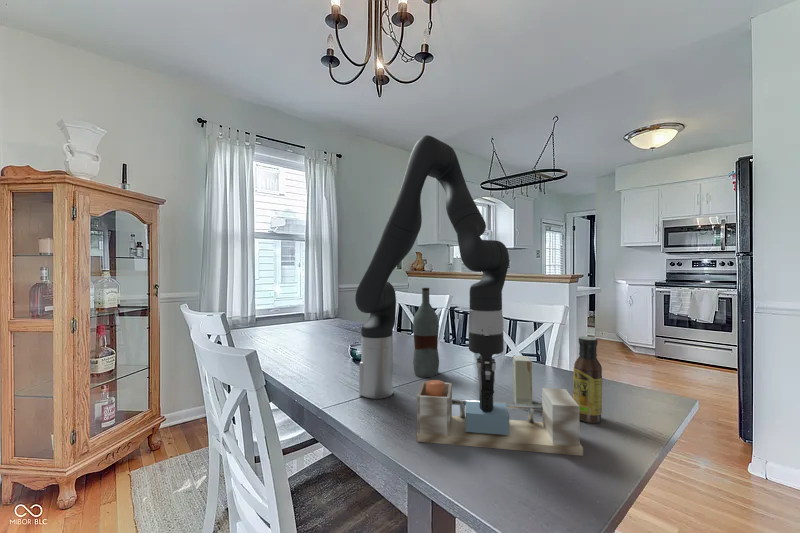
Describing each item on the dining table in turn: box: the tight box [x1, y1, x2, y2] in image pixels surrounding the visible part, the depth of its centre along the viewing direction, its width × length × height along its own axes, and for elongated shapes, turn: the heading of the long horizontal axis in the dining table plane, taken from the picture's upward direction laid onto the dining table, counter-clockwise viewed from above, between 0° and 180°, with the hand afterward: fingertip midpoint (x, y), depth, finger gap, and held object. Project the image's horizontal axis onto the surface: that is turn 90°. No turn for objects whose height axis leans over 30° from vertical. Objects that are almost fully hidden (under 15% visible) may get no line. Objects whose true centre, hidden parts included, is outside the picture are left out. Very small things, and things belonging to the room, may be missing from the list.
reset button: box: [425, 379, 445, 397], centre depth 81 cm, size 4×4×4 cm
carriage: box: [465, 382, 510, 435], centre depth 79 cm, size 9×7×10 cm
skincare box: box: [512, 355, 533, 404], centre depth 97 cm, size 6×4×12 cm
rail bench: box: [416, 381, 584, 457], centre depth 79 cm, size 33×11×10 cm, turn 79°
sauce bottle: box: [572, 335, 603, 424], centre depth 87 cm, size 6×6×20 cm
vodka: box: [412, 287, 440, 378], centre depth 124 cm, size 9×9×30 cm
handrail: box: [452, 398, 543, 423], centre depth 83 cm, size 20×1×4 cm, turn 79°
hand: (486, 407), depth 79 cm, fingers closed on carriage, 3 cm apart
